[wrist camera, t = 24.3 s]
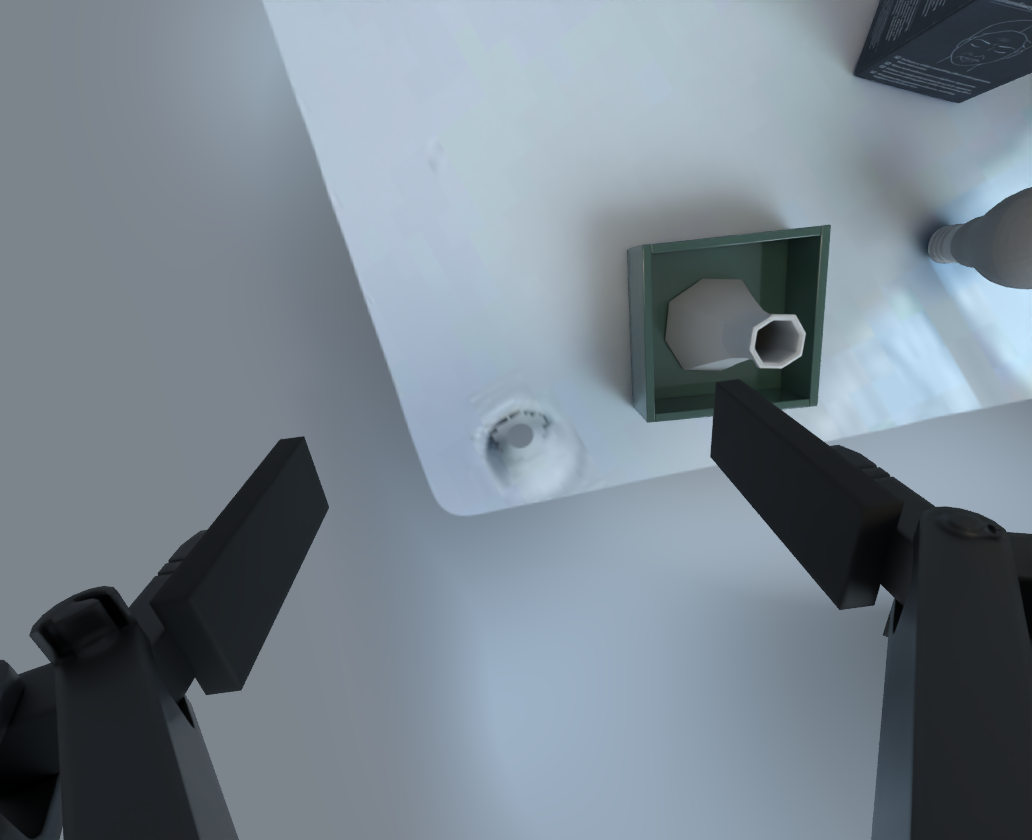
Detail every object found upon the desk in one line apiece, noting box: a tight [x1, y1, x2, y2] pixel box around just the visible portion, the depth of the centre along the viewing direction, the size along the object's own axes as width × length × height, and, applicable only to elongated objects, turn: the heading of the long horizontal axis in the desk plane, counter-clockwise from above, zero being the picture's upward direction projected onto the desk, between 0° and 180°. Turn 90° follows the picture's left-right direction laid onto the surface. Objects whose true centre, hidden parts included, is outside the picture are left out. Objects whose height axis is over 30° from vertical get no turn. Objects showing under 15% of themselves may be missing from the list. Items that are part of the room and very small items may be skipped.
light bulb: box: [928, 187, 1032, 289], centre depth 31 cm, size 6×6×10 cm
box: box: [855, 0, 1032, 103], centre depth 27 cm, size 8×6×11 cm
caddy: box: [627, 225, 831, 422], centre depth 35 cm, size 12×12×4 cm
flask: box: [665, 279, 806, 371], centre depth 32 cm, size 7×7×10 cm
